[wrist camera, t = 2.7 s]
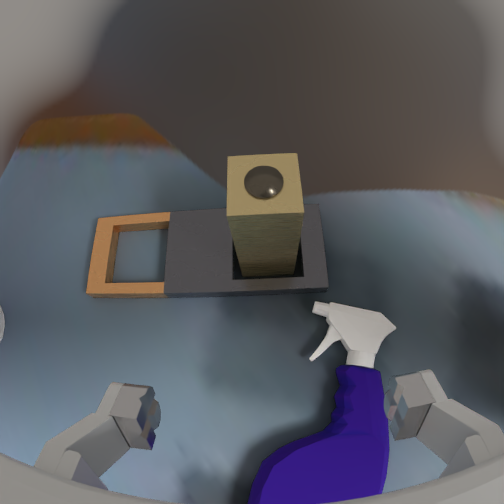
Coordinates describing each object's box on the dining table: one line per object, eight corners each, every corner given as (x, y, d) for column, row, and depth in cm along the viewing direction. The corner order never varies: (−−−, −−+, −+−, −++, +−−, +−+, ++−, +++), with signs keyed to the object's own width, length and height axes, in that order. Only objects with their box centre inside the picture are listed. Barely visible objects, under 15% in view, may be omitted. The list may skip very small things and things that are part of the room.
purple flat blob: (354, 575, 15) (423, 314, 24) (227, 562, 16) (299, 291, 26) (348, 561, 18) (409, 322, 27) (231, 548, 19) (297, 301, 29)
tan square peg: (290, 229, 30) (297, 151, 20) (293, 274, 29) (304, 211, 18) (242, 231, 31) (227, 155, 20) (242, 277, 29) (226, 214, 19)
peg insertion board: (316, 212, 31) (318, 203, 30) (325, 291, 28) (328, 286, 27) (104, 224, 32) (98, 218, 31) (93, 297, 29) (86, 293, 28)
